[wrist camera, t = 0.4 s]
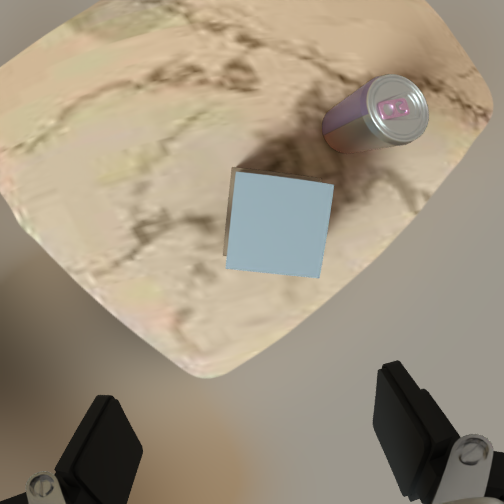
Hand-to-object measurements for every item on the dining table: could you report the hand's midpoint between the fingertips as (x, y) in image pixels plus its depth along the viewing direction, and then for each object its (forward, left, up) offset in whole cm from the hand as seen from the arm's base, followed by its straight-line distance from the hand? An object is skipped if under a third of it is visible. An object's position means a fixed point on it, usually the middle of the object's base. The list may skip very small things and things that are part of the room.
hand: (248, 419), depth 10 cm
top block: (-4, +2, -23) cm, 24 cm away
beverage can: (-15, +10, -29) cm, 34 cm away
